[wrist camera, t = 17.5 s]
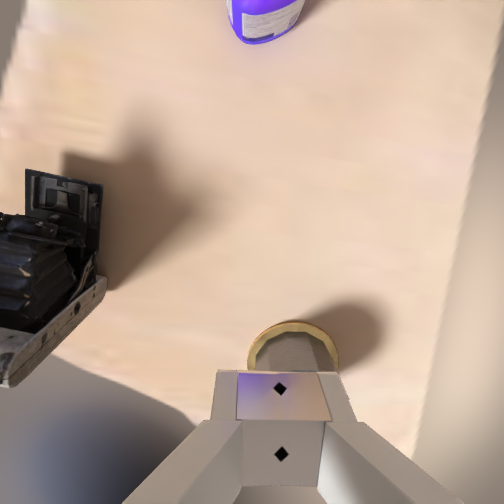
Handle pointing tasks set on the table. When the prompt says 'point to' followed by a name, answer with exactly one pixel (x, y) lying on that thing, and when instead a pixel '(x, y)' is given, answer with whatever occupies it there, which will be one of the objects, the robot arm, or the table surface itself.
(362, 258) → the table surface
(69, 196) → the vintage camera
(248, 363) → the lens barrel
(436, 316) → the table surface
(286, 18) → the bottle
